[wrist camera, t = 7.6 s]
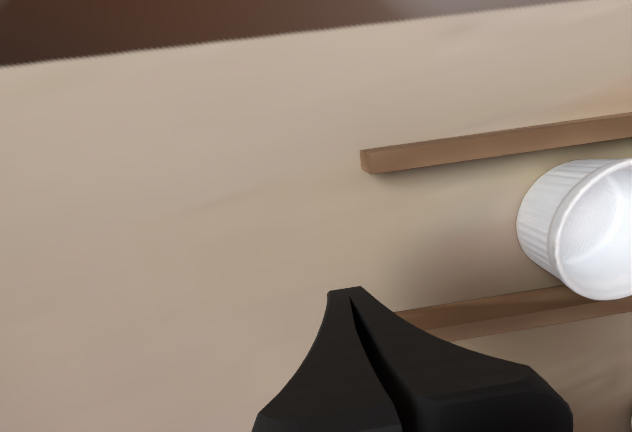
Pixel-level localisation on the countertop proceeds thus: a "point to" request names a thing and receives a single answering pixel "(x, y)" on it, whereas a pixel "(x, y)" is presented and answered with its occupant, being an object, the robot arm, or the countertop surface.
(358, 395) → the robot arm
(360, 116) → the countertop surface
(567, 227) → the ramekin
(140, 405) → the countertop surface
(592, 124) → the channel
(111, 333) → the countertop surface
